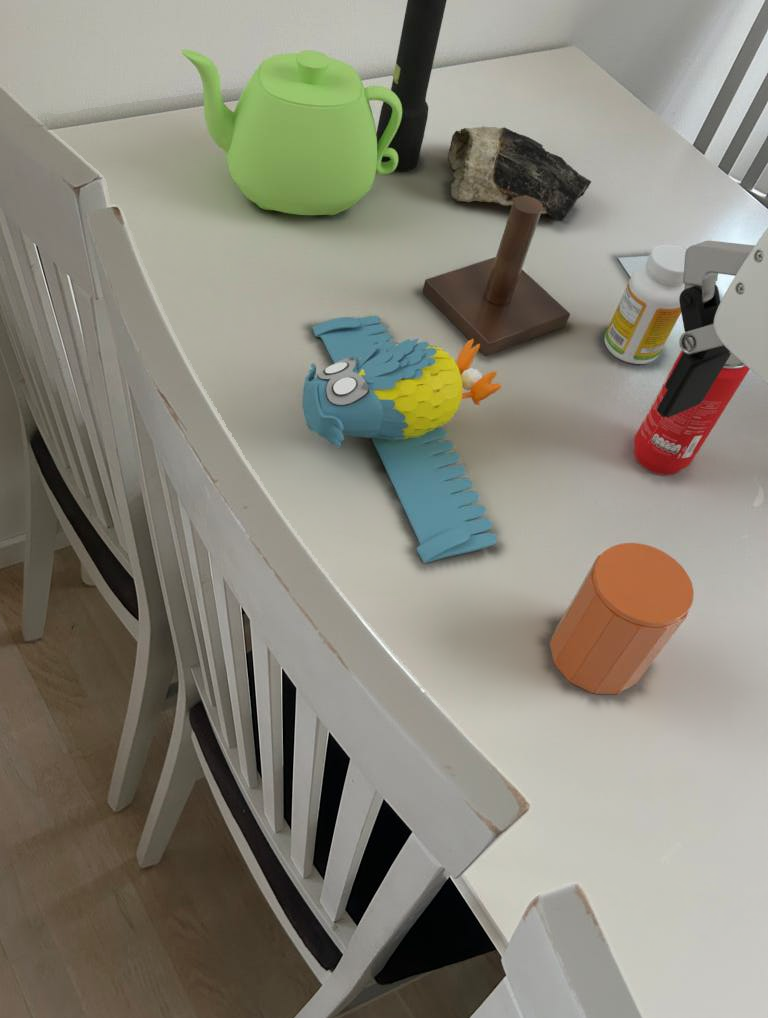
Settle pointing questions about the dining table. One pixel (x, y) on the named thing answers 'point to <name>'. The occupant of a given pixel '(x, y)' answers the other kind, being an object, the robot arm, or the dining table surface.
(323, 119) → the teapot
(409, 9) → the flashlight
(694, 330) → the robot arm
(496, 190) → the mineral specimen
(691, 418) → the beverage can
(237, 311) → the dining table surface
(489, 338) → the cup stand
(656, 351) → the supplement bottle
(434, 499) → the owl figurine
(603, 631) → the cup
